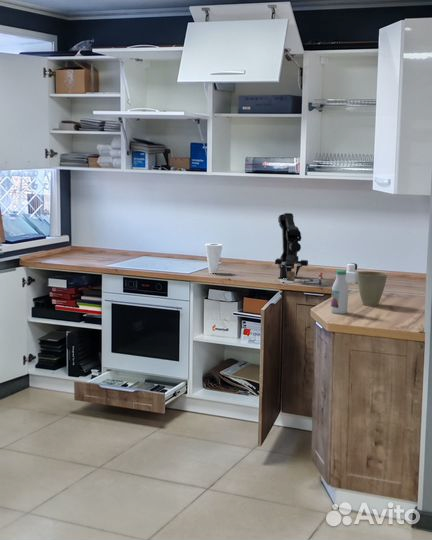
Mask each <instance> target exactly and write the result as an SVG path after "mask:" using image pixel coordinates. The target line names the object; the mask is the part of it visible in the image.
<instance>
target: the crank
mask: <svg viewBox="0 0 432 540" xmlns="http://www.w3.org/2000/svg"><path fill="white" fill-rule="evenodd" d="M318 274H319V275H318V277H317V278H310V279H304V280H303V281H304V283H308V284H307V285H309V284H318V283H319V279H321V281H322V280H323V272H319V273H318Z"/></svg>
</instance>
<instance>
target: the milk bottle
mask: <svg viewBox="0 0 432 540" xmlns="http://www.w3.org/2000/svg"><path fill="white" fill-rule="evenodd" d="M346 271H347V270H341V269H340V270H339V269H337V270H336V272H335V275H336V278H335V280H334V282H333V283H332V288H331V301H330V312H331V313H333V314H338V315H339V314H342V315H343V314H345V315H346V314H347V313H348V309H349V308H348V307H349V306H348V305H349V286H348V283H347V282H346V278H345V276H346Z"/></svg>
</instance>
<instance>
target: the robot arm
mask: <svg viewBox="0 0 432 540" xmlns="http://www.w3.org/2000/svg"><path fill="white" fill-rule="evenodd" d="M278 225H279V227H280V229H281V232H282V234H281V235H282V236H281V237H282V254H281V256H280V257H279V258H278V257H277V258H276V259H275V261H274V264H275V265H278V268H279V277H278V279H281V278H284V279H286V278H287V272H288V271H292V269H293V270H294V269H295V265H296V270H295V278H297V276H298V273H299V271H300V269H301V268H302V267H307V266H309V260H307V259H301V260H299V256H298V252H301V248H302V246H301V243H299V242H301V241H302V233H301V231H300V230H299V227H298V226H296V225H295V221H294V214H293V213H290V212H285V213H283V214H279V216H278Z"/></svg>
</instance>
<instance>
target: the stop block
mask: <svg viewBox="0 0 432 540" xmlns="http://www.w3.org/2000/svg"><path fill="white" fill-rule="evenodd" d="M295 275H296V271H288V272H287V281H295V279H296V277H295Z"/></svg>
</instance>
